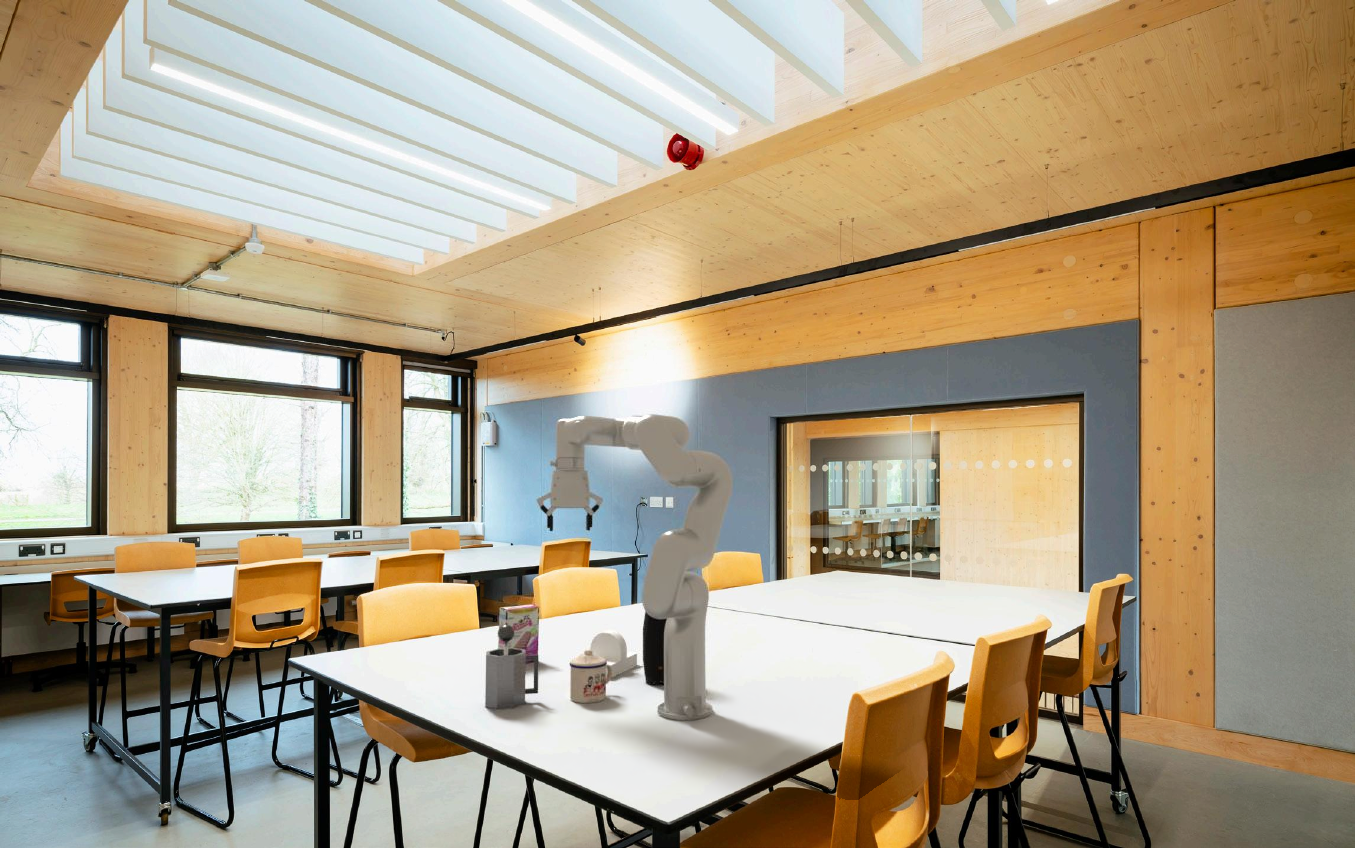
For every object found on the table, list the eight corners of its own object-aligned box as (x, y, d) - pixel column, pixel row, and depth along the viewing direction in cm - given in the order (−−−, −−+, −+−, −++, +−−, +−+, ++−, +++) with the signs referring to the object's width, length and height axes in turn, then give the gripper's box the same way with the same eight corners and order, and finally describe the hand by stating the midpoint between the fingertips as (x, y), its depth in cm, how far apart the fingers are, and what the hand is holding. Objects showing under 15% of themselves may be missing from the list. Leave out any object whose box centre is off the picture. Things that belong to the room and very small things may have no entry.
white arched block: (608, 680, 201) (608, 638, 202) (577, 677, 205) (577, 636, 206) (637, 665, 217) (637, 627, 218) (608, 663, 221) (608, 625, 222)
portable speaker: (670, 687, 192) (669, 610, 193) (637, 684, 195) (636, 608, 197) (682, 679, 200) (681, 605, 201) (650, 676, 203) (649, 604, 205)
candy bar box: (505, 667, 215) (506, 609, 217) (497, 664, 219) (498, 607, 221) (539, 661, 223) (539, 605, 224) (531, 658, 226) (531, 603, 228)
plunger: (518, 696, 176) (519, 626, 178) (492, 698, 175) (493, 627, 176) (517, 690, 182) (518, 622, 184) (492, 691, 181) (493, 623, 182)
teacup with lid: (585, 706, 176) (585, 655, 177) (561, 699, 182) (562, 650, 183) (623, 696, 184) (623, 647, 185) (599, 689, 191) (599, 642, 192)
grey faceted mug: (538, 706, 176) (539, 654, 177) (484, 710, 173) (485, 657, 174) (536, 696, 185) (537, 646, 186) (485, 699, 182) (486, 649, 183)
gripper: (537, 464, 191) (536, 532, 190) (604, 465, 195) (604, 530, 194) (536, 465, 199) (535, 530, 197) (600, 466, 202) (600, 529, 201)
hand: (569, 530), depth 195 cm, fingers open, 9 cm apart
